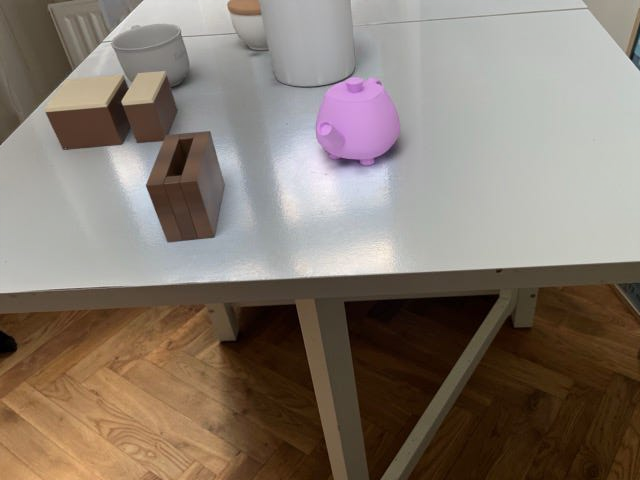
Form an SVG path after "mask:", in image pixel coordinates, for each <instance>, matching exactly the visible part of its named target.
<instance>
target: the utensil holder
mask: <svg viewBox="0 0 640 480" xmlns="http://www.w3.org/2000/svg"><path fill="white" fill-rule="evenodd" d="M351 1H352V0H259V5H260V10H261V14H262V19H263V24H264V29H265V34H266V39H267V43H268V48H269V50H268V51H269V57H270V60H271V64H272V69H273V74H274V77H275V79H276V80H277V81H278V82H280V83H281V84H284V85H286V86H292V87H300V88H301V87H303V88H304V87H305V88H308V87H309V88H310V87H321V86H327V85H331V84H336V83H339V82H341V81H344V80H346V79H348V78H349V77H350V76H352V74H353V73H354V71H355V69H356V59H355V58H356V56H355V38H354V24H353V13H352V2H351Z"/></svg>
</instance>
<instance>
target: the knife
mask: <svg viewBox="0 0 640 480" xmlns="http://www.w3.org/2000/svg"><path fill="white" fill-rule="evenodd" d="M97 3H98V5H99V8H100V12H101V14H102V17H103V20H104V23H105V25H106V26H105V27H106V29H107V30H112V29H113V28H114V27H115V25H116V24H117V23H118V22H119V20H120V19H121V18H122V17H123V15H124V14H126V12H127V11H128V9H129V5H128V2H127V0H97Z"/></svg>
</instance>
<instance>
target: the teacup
mask: <svg viewBox="0 0 640 480" xmlns="http://www.w3.org/2000/svg"><path fill="white" fill-rule="evenodd" d="M110 45H111V48H112V49H113V50H114V53H115V55H116V58H117V61H118V62H119V64H120V67H121V69H122V71H123V73H124V76H126V78H127V80H128V81H129V82H131V83H132V82H133V81H134V79H135V77H136V76H137V74H138V73H147V72H159V71H166V74H167V77H168V81H169V84H170V87H171V88H173V87H176V86H178V85H179V84H180V83H182V82H183V80H184V78H185V76H186V75H187V73H188V72H189V69H190V59H189V55H188V51H187V47H186V44H185V40H184V38H183V35H182V29H181V28H180V26H178V25H175V24H173V23H155V24H154V23H153V24H147V25H139V24H136V25H133V26H131V27H130V29H128V30H125V31H123V32H121V33H119V34H117V35H116V36H115V37H113V38H112V40H111V41H110Z"/></svg>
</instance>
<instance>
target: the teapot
mask: <svg viewBox="0 0 640 480" xmlns="http://www.w3.org/2000/svg"><path fill="white" fill-rule="evenodd" d="M398 113H399V112H398V111H397V108H396V105H395V103H394V101H393V100H392V98H391V96H390V94H389V93H388V91H387V90H386V89H385V87H384V86H383V83H382V81H381V80H380V79H378V78H377V77H369V78H367V79H366V80H364V79H363V78H362V77H358V76H352V77H347V78H345V79H344V80H342V81H339V82H337V83H335V84H334V85H333V86H331V87H330V88H329V89H328V90H327V91H326V92H325V94H324V96H323V98H322V100H321V103H320V106H319V108H318V112H317V115H316V118H315V138H316V141H317V143H318V144H319V145H320V146H321V148H323V149H324V150H325V151H326V152H327V153H328V157H329V158H330V159H332V160H338V159H341V158H343V159H348V160H359V164H360V165H361V166H371V165H373V164H375V158H379V157H380V156H382V155H383V154H385V153H386V152H388V151H389V150H390V149H391V148H392V146H393V145H394V144H395V142H396V141H397V139H398V138H399V137H400V134H401V120H400V117H399V114H398Z"/></svg>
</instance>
